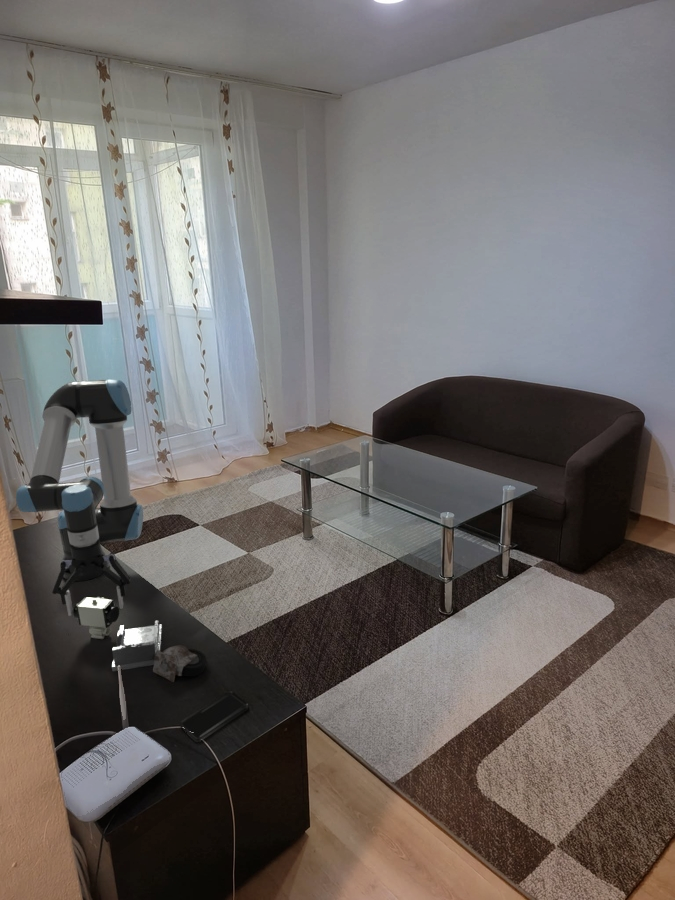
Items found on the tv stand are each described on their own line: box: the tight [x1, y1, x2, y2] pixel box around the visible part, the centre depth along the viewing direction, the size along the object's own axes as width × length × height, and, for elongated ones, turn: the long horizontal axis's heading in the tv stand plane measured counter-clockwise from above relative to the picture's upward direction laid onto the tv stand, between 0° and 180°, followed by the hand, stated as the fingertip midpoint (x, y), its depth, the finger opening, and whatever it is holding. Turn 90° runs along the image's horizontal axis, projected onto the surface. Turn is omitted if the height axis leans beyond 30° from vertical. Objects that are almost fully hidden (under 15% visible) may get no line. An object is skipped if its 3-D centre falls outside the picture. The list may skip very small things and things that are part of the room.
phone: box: [179, 690, 249, 743], centre depth 146 cm, size 8×1×15 cm
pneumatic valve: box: [72, 596, 120, 640], centre depth 175 cm, size 6×12×12 cm, turn 78°
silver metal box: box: [111, 620, 163, 672], centre depth 170 cm, size 16×12×6 cm
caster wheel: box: [152, 644, 207, 683], centre depth 161 cm, size 7×11×10 cm
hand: (96, 609), depth 174 cm, fingers open, 13 cm apart
